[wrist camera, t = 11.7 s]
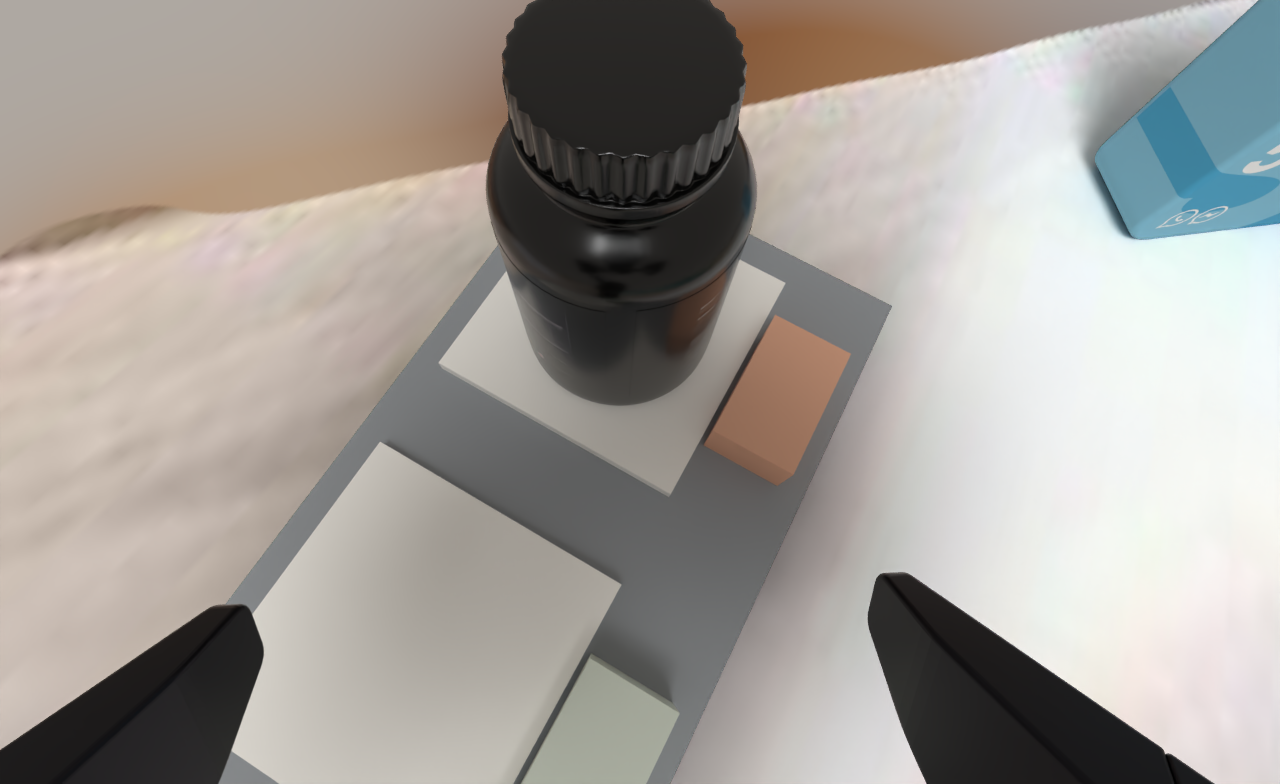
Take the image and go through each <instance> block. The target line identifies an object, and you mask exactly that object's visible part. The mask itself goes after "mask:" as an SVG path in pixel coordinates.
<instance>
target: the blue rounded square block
mask: <svg viewBox="0 0 1280 784" xmlns="http://www.w3.org/2000/svg"><path fill="white" fill-rule="evenodd" d="M1095 163H1096V165H1097V167H1098V169H1099V171H1100V173H1101V175H1102V177H1103V179H1104V181H1105V183H1106V186H1107V188H1108V190H1109V192H1110V194H1111V196H1112V198H1113V200H1114V202H1115V204H1116V206H1117V208H1118V210H1119V212H1120V214H1121V216H1122V218H1123V220H1124V222H1125V224H1126V226H1127V228H1128V230H1129V232H1130V234H1131V236H1132V237H1134V238H1136V239H1154V238H1162V237H1171V236H1179V235H1187V234H1196V233H1204V232H1212V231H1221V230H1229V229H1237V228H1246V227H1254V226H1262V225H1270V224H1279V223H1280V0H1259V1H1257V2H1256V3H1255V4H1254V5H1253V6H1252V7H1251V8H1250V9H1249V10H1248V11H1247V12H1246V13H1244V14H1243V15H1242V16H1241V17H1240V18H1239V19H1238V20H1237V21H1236V22H1235V23H1234V24H1233V25H1231V26H1230V27H1229V28H1228V29H1227V30H1226V31H1225V32H1224V33H1223V34H1222V35H1221V36H1220V37H1218V38H1217V39H1216V40H1215V41H1214V42H1213V43H1212V44H1211V45H1210V46H1209V47H1208V48H1206V49H1205V50H1204V51H1203V52H1202V53H1201V54H1200V55H1199V56H1198V57H1197V58H1196V59H1195V60H1193V61H1192V62H1191V63H1190V64H1189V65H1188V66H1187V67H1186V68H1185V69H1184V70H1183V71H1182V72H1180V73H1179V74H1178V75H1177V76H1176V77H1175V78H1174V79H1173V80H1172V81H1171V82H1170V83H1169V84H1167V85H1166V86H1165V87H1164V88H1163V89H1162V90H1161V91H1160V92H1159V93H1158V94H1157V95H1155V96H1154V97H1153V98H1152V99H1151V100H1150V101H1149V102H1148V103H1147V104H1146V105H1145V106H1144V107H1142V108H1141V109H1140V110H1139V111H1138V112H1137V113H1136V114H1135V115H1134V116H1133V117H1132V118H1131V119H1129V120H1128V121H1127V122H1126V123H1125V124H1124V125H1123V126H1122V127H1121V128H1120V129H1119V130H1118V131H1116V132H1115V133H1114V134H1113V135H1112V136H1111V137H1110V138H1109V139H1108V140H1107V141H1106V142H1105V143H1104V144H1103V145H1102V146H1101V147H1100V148H1099V150H1098V151H1097V153H1096V156H1095Z"/></svg>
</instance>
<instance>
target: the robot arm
mask: <svg viewBox="0 0 1280 784" xmlns="http://www.w3.org/2000/svg"><path fill="white" fill-rule="evenodd" d="M868 626H869V630H870V633H871V636H872V639H873V642H874V645H875V648H876V651H877V654H878V657H879V660H880V663H881V666H882V669H883V672H884V675H885V678H886V681H887V684H888V688H889V691H890V694H891V697H892V700H893V703H894V706H895V709H896V712H897V715H898V717H899V720H900V723H901V726H902V728H903V731H904V734H905V736H906V738H907V741H908V743H909V745H910V748H911V750H912V752H913V755H914V757H915V759H916V761H917V764H918V766H919V768H920V770H921V772H922V775H923V777H924V779H925V781H926V784H1214V783H1213V782H1211V781H1210V780H1208V779H1207V778H1205V777H1204V776H1202V775H1201V774H1199V773H1198V772H1196V771H1195V770H1193V769H1192V768H1191V767H1189V766H1188V765H1186V764H1185V763H1183V762H1182V761H1180V760H1179V759H1177V758H1176V757H1175V756H1173V755H1172V754H1169V753H1168V754H1165V752H1164V750H1163V749H1162V748H1161V747H1160V746H1158V745H1157V744H1155V743H1154V742H1152V741H1151V740H1150V739H1148V738H1147V737H1145V736H1144V735H1142V734H1141V733H1139V732H1138V731H1137V730H1135V729H1134V728H1132V727H1131V726H1129V725H1128V724H1126V723H1125V722H1123V721H1122V720H1121V719H1119V718H1118V717H1116V716H1115V715H1113V714H1112V713H1110V712H1109V711H1108V710H1106V709H1105V708H1103V707H1102V706H1100V705H1099V704H1097V703H1096V702H1094V701H1093V700H1092V699H1090V698H1089V697H1087V696H1086V695H1084V694H1083V693H1081V692H1080V691H1078V690H1077V689H1076V688H1074V687H1073V686H1071V685H1070V684H1068V683H1067V682H1065V681H1064V680H1063V679H1061V678H1060V677H1058V676H1057V675H1055V674H1054V673H1052V672H1051V671H1049V670H1048V669H1047V668H1045V667H1044V666H1042V665H1041V664H1039V663H1038V662H1036V661H1035V660H1033V659H1032V658H1031V657H1029V656H1028V655H1026V654H1025V653H1023V652H1022V651H1020V650H1019V649H1018V648H1016V647H1015V646H1013V645H1012V644H1010V643H1009V642H1007V641H1006V640H1004V639H1003V638H1002V637H1000V636H999V635H997V634H996V633H994V632H993V631H991V630H990V629H989V628H987V627H986V626H984V625H983V624H981V623H980V622H978V621H977V620H975V619H974V618H973V617H971V616H970V615H968V614H967V613H965V612H964V611H962V610H961V609H959V608H958V607H957V606H955V605H954V604H952V603H951V602H949V601H948V600H946V599H945V598H944V597H942V596H941V595H939V594H938V593H936V592H935V591H933V590H932V589H930V588H929V587H928V586H926V585H925V584H923V583H922V582H920V581H919V580H917V579H916V578H914V577H913V576H911V575H910V574H908V573H904V572H898V573H882V574H880V575H879V576H878V577H877V578H876V581H875V585H874V589H873V594H872V598H871V602H870V607H869V611H868ZM263 658H264V646H263V642H262V640H261V637H260V634H259V631H258V629H257V626H256V623H255V620H254V618H253V615H252V612H251V610H250V608H249V607H247V606H246V605H244V604H227V605H216V606H212V607H210V608H209V609H207V610H205V611H204V612H202V613H201V614H199V615H198V616H196V617H195V618H194V619H192V620H191V621H189V622H188V623H186V624H185V625H183V626H182V627H180V628H179V629H177V630H176V631H174V632H173V633H171V634H170V635H169V636H167V637H166V638H164V639H163V640H161V641H160V642H158V643H157V644H155V645H154V646H152V647H151V648H149V649H148V650H146V651H145V652H144V653H142V654H141V655H139V656H138V657H136V658H135V659H133V660H132V661H130V662H129V663H127V664H126V665H124V666H123V667H121V668H120V669H119V670H117V671H116V672H114V673H113V674H111V675H110V676H108V677H107V678H105V679H104V680H102V681H101V682H99V683H98V684H96V685H95V686H94V687H92V688H91V689H89V690H88V691H86V692H85V693H83V694H82V695H80V696H79V697H77V698H76V699H74V700H73V701H71V702H70V703H69V704H67V705H66V706H64V707H63V708H61V709H60V710H58V711H57V712H55V713H54V714H52V715H51V716H49V717H48V718H46V719H45V720H44V721H42V722H41V723H39V724H38V725H36V726H35V727H33V728H32V729H30V730H29V731H27V732H26V733H24V734H23V735H21V736H20V737H19V738H17V739H16V740H14V741H13V742H11V743H10V744H8V745H7V746H5V747H4V748H2V749H1V750H0V784H219V781H220V779H221V777H222V774H223V772H224V769H225V767H226V764H227V761H228V759H229V756H230V753H231V751H232V748H233V745H234V742H235V739H236V736H237V734H238V731H239V728H240V725H241V722H242V719H243V717H244V714H245V711H246V708H247V705H248V703H249V700H250V697H251V694H252V691H253V688H254V686H255V683H256V680H257V677H258V674H259V672H260V669H261V666H262V663H263Z"/></svg>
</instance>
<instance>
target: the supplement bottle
mask: <svg viewBox="0 0 1280 784" xmlns="http://www.w3.org/2000/svg"><path fill="white" fill-rule="evenodd" d="M506 45H507V46H506V48H505V50H504V51H503V53H502V63H503V69H504V70H503V77H502V78H503V85H504V90H505V95H506V100H507V104H508V121H507V123H506V124H505V125H504V127H503V129H502V131H501V132H500V134H499V136H498V138H497V140H496V142H495V145H494V148H493V150H492V153H491V156H490V160H489V163H488V169H487V175H486V199H487V205H488V210H489V215H490V219H491V224H492V227H493V230H494V233H495V236H496V239H497V243H498V246H499V249H500V252H501V255H502V258H503V261H504V264H505V268H506V271H507V274H508V277H509V280H510V283H511V286H512V289H513V292H514V296H515V299H516V302H517V305H518V308H519V311H520V314H521V317H522V320H523V323H524V327H525V330H526V333H527V336H528V339H529V341H530V344H531V347H532V349H533V351H534V354H535V356H536V357H537V359H538V361H539V363H540V364H541V366H542V367H543V368H544V370H545V371H546V372H547V373H548V375H549V376H550V377H551V378H552V379H553V380H554V381H555V382H556V383H558V384H559V385H560V386H561V387H563V388H564V389H566V390H567V391H569V392H571V393H572V394H574V395H576V396H578V397H580V398H583V399H586V400H588V401H591V402H595V403H599V404H605V405H614V406H627V405H635V404H640V403H645V402H648V401H651V400H654V399H657V398H659V397H661V396H664V395H665V394H667V393H669V392H671V391H672V390H674V389H675V388H677V387H678V386H679V385H680V384H682V383H683V382H684V381H685V380H686V379H687V378H688V377H689V376H690V375H691V374H692V372H693V371H694V370H695V369H696V367H697V366H698V364H699V362H700V361H701V359H702V357H703V355H704V353H705V351H706V349H707V346H708V344H709V342H710V339H711V336H712V334H713V331H714V328H715V326H716V323H717V320H718V317H719V315H720V312H721V309H722V306H723V304H724V301H725V298H726V296H727V293H728V290H729V287H730V285H731V282H732V279H733V277H734V274H735V271H736V268H737V266H738V263H739V260H740V257H741V255H742V252H743V249H744V247H745V244H746V241H747V238H748V235H749V232H750V229H751V225H752V222H753V218H754V213H755V209H756V200H757V182H756V174H755V169H754V165H753V161H752V158H751V155H750V152H749V149H748V147H747V144H746V142H745V140H744V138H743V136H742V134H741V133H740V131H739V130H738V126H739V113H740V109H741V105H742V101H743V97H744V93H745V87H746V85H745V84H746V82H745V75H746V69H747V63H746V61H745V59H744V57H743V55H742V54H743V44H742V43H741V42H740V41H739V39H738V38H737V37H736V30H735V27H733V26H732V25H731V24H730V23H729V22H728V21H727V20H726V18H725V15H724V12H722V11H720V10H719V9H717V8H715V7H714V6H713V5H712V3H711V2H710V0H536V1H533V2H531V3H529V4H528V5H527V7H526V9H525V12H524V13H523V14H522V15H520V16H519V17H517V18H516V19H515V22H514V28H513V29H512V30H511V31H510V32H509V34H508V35H507V36H506Z"/></svg>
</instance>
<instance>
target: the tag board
mask: <svg viewBox="0 0 1280 784" xmlns="http://www.w3.org/2000/svg"><path fill="white" fill-rule="evenodd" d="M891 307H892V306H891V305H889V304H887V303H885V302H883V301H881V300H879V299H877V298H875V297H873V296H871V295H869V294H867V293H865V292H863V291H861V290H859V289H857V288H855V287H853V286H851V285H849V284H847V283H845V282H843V281H841V280H839V279H837V278H835V277H833V276H831V275H829V274H827V273H825V272H824V271H822V270H820V269H818V268H816V267H814V266H812V265H810V264H808V263H806V262H804V261H802V260H800V259H798V258H796V257H794V256H792V255H790V254H788V253H786V252H784V251H782V250H780V249H778V248H776V247H774V246H772V245H770V244H768V243H766V242H764V241H762V240H760V239H758V238H756V237H754V236H752V235H750V234H749V235H748V238H747V241H746V244H745V247H744V249H743V252H742V255H741V257H740V260H739V263H738V266H737V268H736V271H735V274H734V277H733V279H732V282H731V285H730V287H729V290H728V293H727V296H726V298H725V301H724V304H723V306H722V309H721V312H720V315H719V317H718V320H717V323H716V326H715V328H714V331H713V334H712V336H711V339H710V342H709V344H708V346H707V349H706V351H705V353H704V355H703V357H702V359H701V361H700V362H699V364H698V366H697V367H696V369H695V370H694V371H693V372H692V374H691V375H690V376H689V377H688V378H687V379H686V380H685V381H684V382H683V383H682V384H680V385H679V386H678V387H677V388H675V389H674V390H672V391H671V392H669V393H667V394H665V395H664V396H661V397H659V398H657V399H654V400H651V401H648V402H645V403H640V404H635V405H627V406H614V405H605V404H599V403H595V402H591V401H588V400H586V399H583V398H580V397H578V396H576V395H574V394H572V393H571V392H569V391H567V390H566V389H564V388H563V387H561V386H560V385H559V384H558V383H556V382H555V381H554V380H553V379H552V378H551V377H550V376H549V375H548V373H547V372H546V371H545V370H544V368H543V367H542V366H541V364H540V363H539V361H538V359H537V357H536V356H535V354H534V351H533V349H532V347H531V344H530V341H529V339H528V336H527V333H526V330H525V327H524V323H523V320H522V317H521V314H520V311H519V308H518V305H517V302H516V299H515V296H514V292H513V289H512V286H511V283H510V280H509V277H508V274H507V271H506V268H505V264H504V261H503V258H502V255H501V252H500V249H499V246H497V247H496V248H495V250H494V251H493V252H492V254H491V255H490V256H489V258H488V259H487V260H486V262H485V263H484V264H483V266H482V267H481V268H480V270H479V271H478V272H477V273H476V275H475V276H474V277H473V279H472V280H471V281H470V283H469V284H468V285H467V287H466V288H465V289H464V291H463V292H462V293H461V295H460V296H459V297H458V299H457V300H456V301H455V302H454V304H453V305H452V306H451V308H450V309H449V310H448V312H447V313H446V314H445V316H444V317H443V318H442V320H441V321H440V322H439V324H438V325H437V326H436V327H435V329H434V330H433V331H432V333H431V334H430V335H429V337H428V338H427V339H426V341H425V342H424V343H423V345H422V346H421V347H420V349H419V350H418V351H417V353H416V354H415V355H414V356H413V358H412V359H411V360H410V362H409V363H408V364H407V366H406V367H405V368H404V370H403V371H402V372H401V374H400V375H399V376H398V378H397V379H396V380H395V382H394V383H393V384H392V385H391V387H390V388H389V389H388V391H387V392H386V393H385V395H384V396H383V397H382V399H381V400H380V401H379V403H378V404H377V405H376V407H375V408H374V409H373V411H372V412H371V413H370V414H369V416H368V417H367V418H366V420H365V421H364V422H363V424H362V425H361V426H360V428H359V429H358V430H357V432H356V433H355V434H354V436H353V437H352V438H351V440H350V441H349V442H348V443H347V445H346V446H345V447H344V449H343V450H342V451H341V453H340V454H339V455H338V457H337V458H336V459H335V461H334V462H333V463H332V465H331V466H330V467H329V469H328V470H327V471H326V472H325V474H324V475H323V476H322V478H321V479H320V480H319V482H318V483H317V484H316V486H315V487H314V488H313V490H312V491H311V492H310V494H309V495H308V496H307V497H306V499H305V500H304V501H303V503H302V504H301V505H300V507H299V508H298V509H297V511H296V512H295V513H294V515H293V516H292V517H291V519H290V520H289V521H288V523H287V524H286V525H285V526H284V528H283V529H282V530H281V532H280V533H279V534H278V536H277V537H276V538H275V540H274V541H273V542H272V544H271V545H270V546H269V548H268V549H267V550H266V552H265V553H264V554H263V555H262V557H261V558H260V559H259V561H258V562H257V563H256V565H255V566H254V567H253V569H252V570H251V571H250V573H249V574H248V575H247V577H246V578H245V579H244V581H243V582H242V583H241V584H240V586H239V587H238V588H237V590H236V591H235V592H234V594H233V595H232V596H231V598H230V599H229V600H228V602H227V603H226V604H225V605H227V604H244V605H246V606H247V607H249V608H250V610H251V612H252V615H253V618H254V620H255V623H256V626H257V629H258V631H259V634H260V637H261V640H262V642H263V646H264V658H263V663H262V666H261V669H260V672H259V674H258V677H257V680H256V683H255V686H254V688H253V691H252V694H251V697H250V700H249V703H248V705H247V708H246V711H245V714H244V717H243V719H242V722H241V725H240V728H239V731H238V734H237V736H236V739H235V742H234V745H233V748H232V751H231V753H230V756H229V759H228V761H227V764H226V767H225V769H224V772H223V774H222V777H221V779H220V781H219V784H670V783H671V781H672V779H673V777H674V774H675V772H676V770H677V768H678V766H679V764H680V762H681V759H682V757H683V755H684V753H685V751H686V749H687V746H688V744H689V742H690V740H691V738H692V736H693V734H694V731H695V729H696V727H697V725H698V723H699V721H700V719H701V716H702V714H703V712H704V710H705V708H706V706H707V703H708V701H709V699H710V697H711V695H712V693H713V691H714V688H715V686H716V684H717V682H718V680H719V678H720V675H721V673H722V671H723V669H724V667H725V665H726V663H727V660H728V658H729V656H730V654H731V652H732V650H733V647H734V645H735V643H736V641H737V639H738V637H739V635H740V632H741V630H742V628H743V626H744V624H745V622H746V620H747V617H748V615H749V613H750V611H751V609H752V607H753V604H754V602H755V600H756V598H757V596H758V594H759V592H760V589H761V587H762V585H763V583H764V581H765V579H766V576H767V574H768V572H769V570H770V568H771V566H772V564H773V561H774V559H775V557H776V555H777V553H778V551H779V548H780V546H781V544H782V542H783V540H784V538H785V536H786V533H787V531H788V529H789V527H790V525H791V523H792V521H793V518H794V516H795V514H796V512H797V510H798V508H799V505H800V503H801V501H802V499H803V497H804V495H805V493H806V490H807V488H808V486H809V484H810V482H811V480H812V477H813V475H814V473H815V471H816V469H817V467H818V465H819V462H820V460H821V458H822V456H823V454H824V452H825V449H826V447H827V445H828V443H829V441H830V439H831V437H832V434H833V432H834V430H835V428H836V426H837V424H838V422H839V419H840V417H841V415H842V413H843V411H844V409H845V406H846V404H847V402H848V400H849V398H850V396H851V394H852V391H853V389H854V387H855V385H856V383H857V381H858V378H859V376H860V374H861V372H862V370H863V368H864V366H865V363H866V361H867V359H868V357H869V355H870V353H871V350H872V348H873V346H874V344H875V342H876V340H877V338H878V335H879V333H880V331H881V329H882V327H883V325H884V323H885V320H886V318H887V316H888V314H889V312H890V310H891Z"/></svg>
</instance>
